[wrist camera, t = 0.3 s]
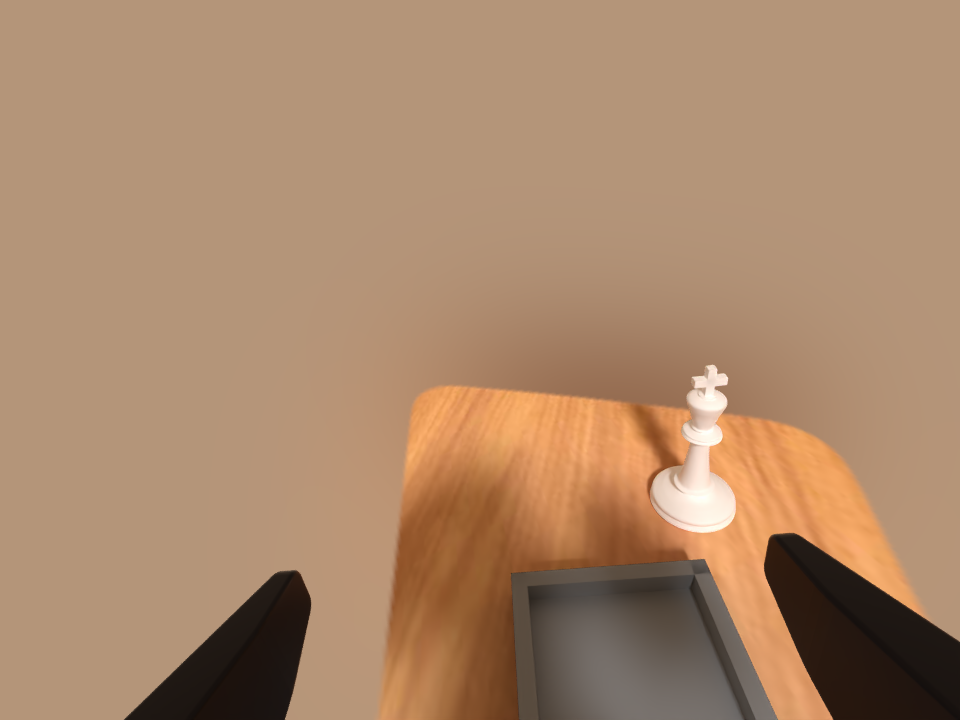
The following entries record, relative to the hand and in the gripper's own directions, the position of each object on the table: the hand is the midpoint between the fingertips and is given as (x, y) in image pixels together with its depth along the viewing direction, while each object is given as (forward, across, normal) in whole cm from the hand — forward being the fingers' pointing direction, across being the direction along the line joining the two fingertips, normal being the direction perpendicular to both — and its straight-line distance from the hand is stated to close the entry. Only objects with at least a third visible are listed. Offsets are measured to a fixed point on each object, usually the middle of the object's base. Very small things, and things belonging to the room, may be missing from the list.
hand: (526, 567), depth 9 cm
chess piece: (+17, -10, +15) cm, 25 cm away
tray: (+5, -4, +16) cm, 17 cm away
